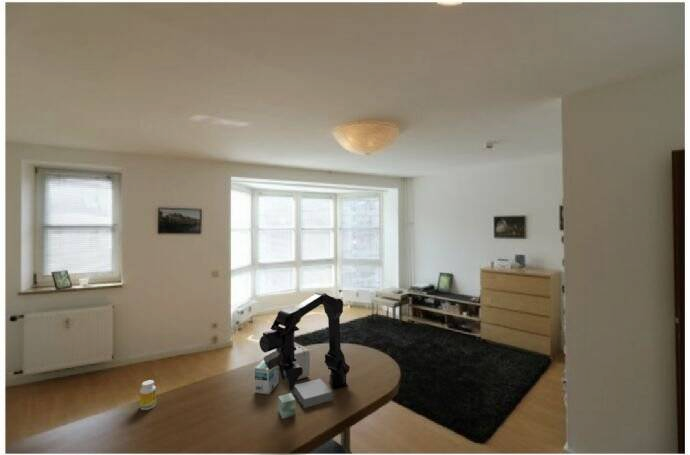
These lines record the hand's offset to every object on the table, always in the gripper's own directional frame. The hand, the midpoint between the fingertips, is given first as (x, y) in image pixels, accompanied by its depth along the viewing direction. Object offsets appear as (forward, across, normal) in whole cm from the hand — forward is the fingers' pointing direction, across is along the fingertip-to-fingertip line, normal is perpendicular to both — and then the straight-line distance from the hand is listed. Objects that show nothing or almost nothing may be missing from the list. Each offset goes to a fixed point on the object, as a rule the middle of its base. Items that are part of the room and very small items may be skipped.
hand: (286, 384), depth 123 cm
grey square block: (+12, -6, +13) cm, 18 cm away
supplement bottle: (+11, -29, -47) cm, 56 cm away
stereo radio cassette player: (+11, -31, +12) cm, 35 cm away
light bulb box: (+11, -22, -2) cm, 25 cm away
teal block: (+11, 0, 0) cm, 11 cm away
